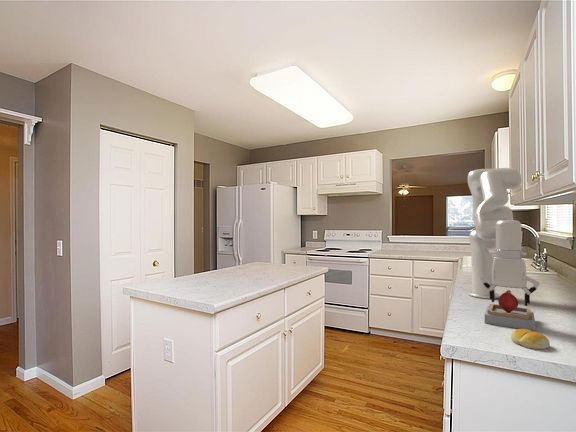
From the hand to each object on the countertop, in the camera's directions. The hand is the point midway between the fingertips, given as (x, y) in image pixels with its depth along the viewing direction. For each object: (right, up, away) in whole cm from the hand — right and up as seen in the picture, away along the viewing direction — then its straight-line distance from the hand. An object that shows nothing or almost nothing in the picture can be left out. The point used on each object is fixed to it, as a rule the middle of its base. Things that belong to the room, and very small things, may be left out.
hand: (509, 303), depth 115 cm
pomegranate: (0, -4, 0) cm, 4 cm away
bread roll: (-8, -7, -21) cm, 23 cm away
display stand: (0, -6, 0) cm, 6 cm away
